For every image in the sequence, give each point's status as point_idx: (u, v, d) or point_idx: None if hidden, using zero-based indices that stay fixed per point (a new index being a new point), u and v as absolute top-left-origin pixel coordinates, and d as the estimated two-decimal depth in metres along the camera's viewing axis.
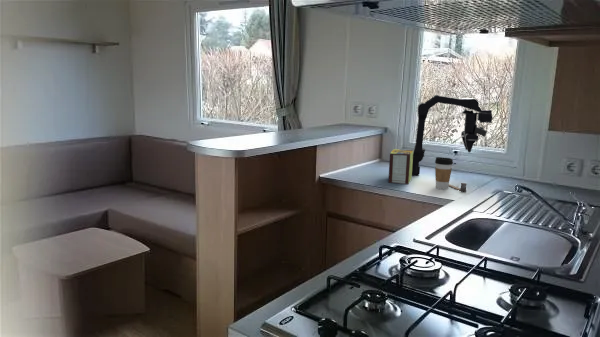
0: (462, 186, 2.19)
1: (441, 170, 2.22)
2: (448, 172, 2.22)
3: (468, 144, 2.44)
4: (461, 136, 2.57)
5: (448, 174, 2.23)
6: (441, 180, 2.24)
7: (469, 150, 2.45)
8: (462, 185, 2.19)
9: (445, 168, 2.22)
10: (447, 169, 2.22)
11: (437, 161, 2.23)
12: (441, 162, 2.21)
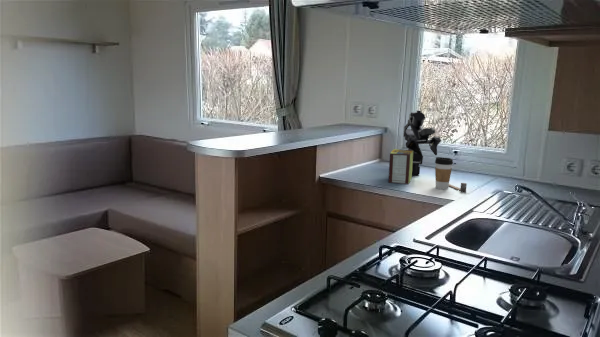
0: (462, 186, 2.19)
1: (441, 170, 2.22)
2: (448, 172, 2.22)
3: (415, 150, 2.41)
4: None
5: (448, 174, 2.23)
6: (441, 180, 2.24)
7: (420, 154, 2.39)
8: (462, 185, 2.19)
9: (445, 168, 2.22)
10: (447, 169, 2.22)
11: (437, 161, 2.23)
12: (441, 162, 2.21)
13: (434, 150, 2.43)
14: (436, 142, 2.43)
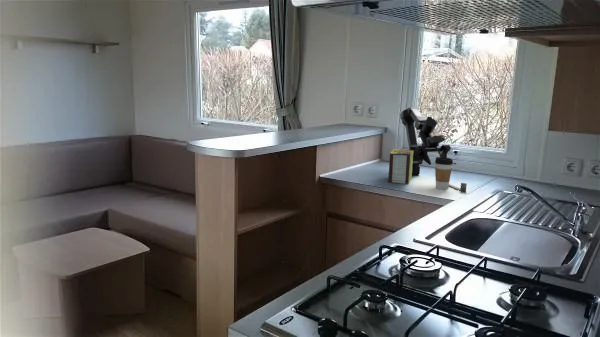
0: (462, 186, 2.19)
1: (441, 170, 2.22)
2: (448, 172, 2.22)
3: (424, 158, 2.30)
4: None
5: (448, 174, 2.23)
6: (441, 180, 2.24)
7: (428, 162, 2.28)
8: (462, 185, 2.19)
9: (445, 168, 2.22)
10: (447, 169, 2.22)
11: (437, 161, 2.23)
12: (441, 162, 2.21)
13: None
14: (446, 150, 2.32)
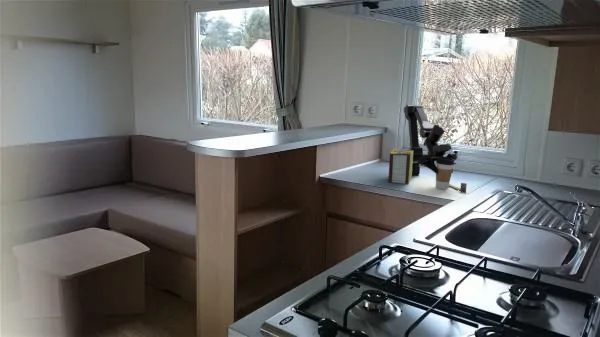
0: (462, 186, 2.19)
1: (442, 170, 2.22)
2: (449, 172, 2.22)
3: (431, 167, 2.26)
4: None
5: (449, 174, 2.23)
6: (441, 180, 2.23)
7: (435, 171, 2.24)
8: (462, 185, 2.19)
9: (446, 168, 2.21)
10: (448, 170, 2.22)
11: (438, 161, 2.23)
12: (442, 162, 2.21)
13: None
14: None
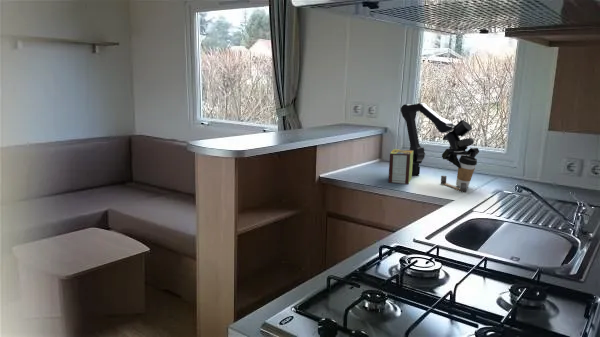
0: (462, 186, 2.19)
1: (463, 169, 2.25)
2: (470, 172, 2.25)
3: (453, 161, 2.29)
4: None
5: (470, 174, 2.25)
6: (462, 178, 2.27)
7: (458, 166, 2.26)
8: (462, 185, 2.19)
9: (468, 168, 2.24)
10: (469, 170, 2.24)
11: (461, 160, 2.25)
12: (465, 162, 2.24)
13: None
14: (474, 153, 2.30)
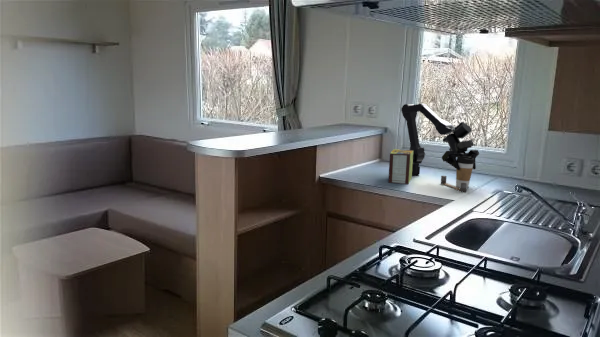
0: (462, 186, 2.19)
1: (462, 169, 2.26)
2: (469, 171, 2.26)
3: (452, 163, 2.29)
4: None
5: (469, 173, 2.26)
6: (461, 178, 2.27)
7: (457, 168, 2.26)
8: (462, 185, 2.19)
9: (466, 167, 2.25)
10: (467, 169, 2.25)
11: (458, 160, 2.27)
12: (462, 161, 2.25)
13: None
14: (474, 155, 2.31)
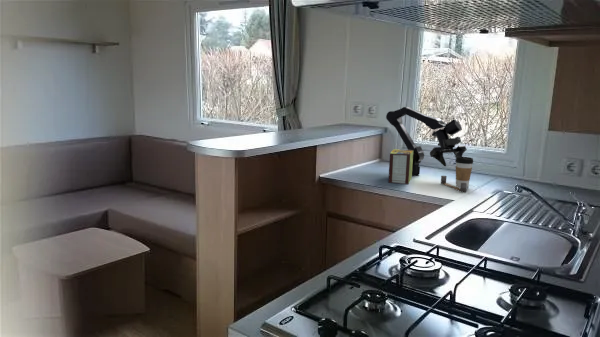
0: (462, 186, 2.19)
1: (461, 169, 2.26)
2: (468, 171, 2.26)
3: (439, 159, 2.38)
4: None
5: (468, 173, 2.26)
6: (461, 178, 2.28)
7: (443, 164, 2.36)
8: (462, 185, 2.19)
9: (465, 167, 2.26)
10: (467, 168, 2.26)
11: (457, 160, 2.27)
12: (461, 161, 2.26)
13: None
14: (461, 151, 2.39)
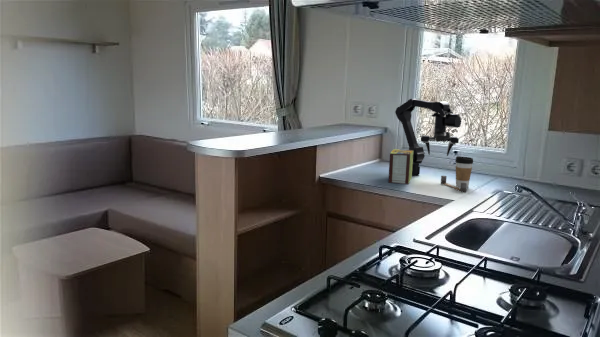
0: (462, 186, 2.19)
1: (461, 169, 2.26)
2: (468, 171, 2.26)
3: None
4: None
5: (468, 173, 2.26)
6: (461, 178, 2.28)
7: (428, 152, 2.45)
8: (462, 185, 2.19)
9: (465, 167, 2.26)
10: (467, 168, 2.26)
11: (457, 160, 2.27)
12: (461, 161, 2.26)
13: (447, 150, 2.43)
14: (451, 144, 2.39)
